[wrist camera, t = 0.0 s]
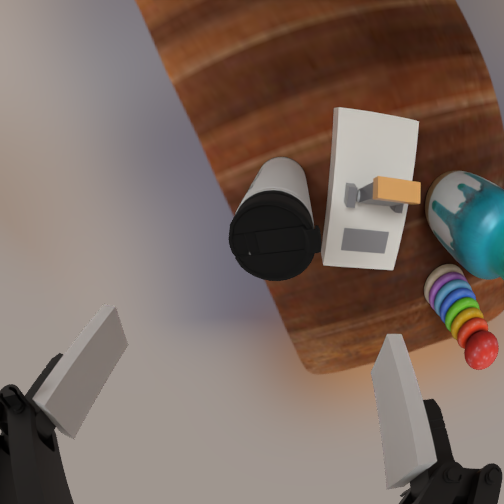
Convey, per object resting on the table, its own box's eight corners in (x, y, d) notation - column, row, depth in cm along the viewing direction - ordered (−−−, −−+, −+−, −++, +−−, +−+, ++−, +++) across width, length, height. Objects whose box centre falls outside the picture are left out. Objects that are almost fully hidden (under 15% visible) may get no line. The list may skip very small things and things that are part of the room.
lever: (355, 188, 32) (378, 175, 23) (389, 192, 32) (420, 182, 23) (355, 204, 32) (377, 197, 24) (389, 208, 32) (420, 203, 23)
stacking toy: (460, 255, 38) (519, 329, 21) (461, 292, 41) (508, 368, 24) (419, 271, 40) (468, 356, 24) (424, 308, 43) (461, 392, 26)
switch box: (333, 107, 32) (341, 106, 26) (407, 119, 31) (425, 122, 25) (321, 251, 41) (324, 273, 36) (385, 256, 40) (397, 277, 35)
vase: (435, 149, 32) (525, 187, 15) (482, 186, 32) (564, 240, 15) (402, 213, 37) (466, 290, 20) (450, 243, 37) (514, 320, 20)
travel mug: (311, 198, 38) (326, 280, 20) (263, 205, 39) (236, 291, 21) (304, 152, 35) (315, 195, 17) (253, 161, 36) (213, 211, 19)
